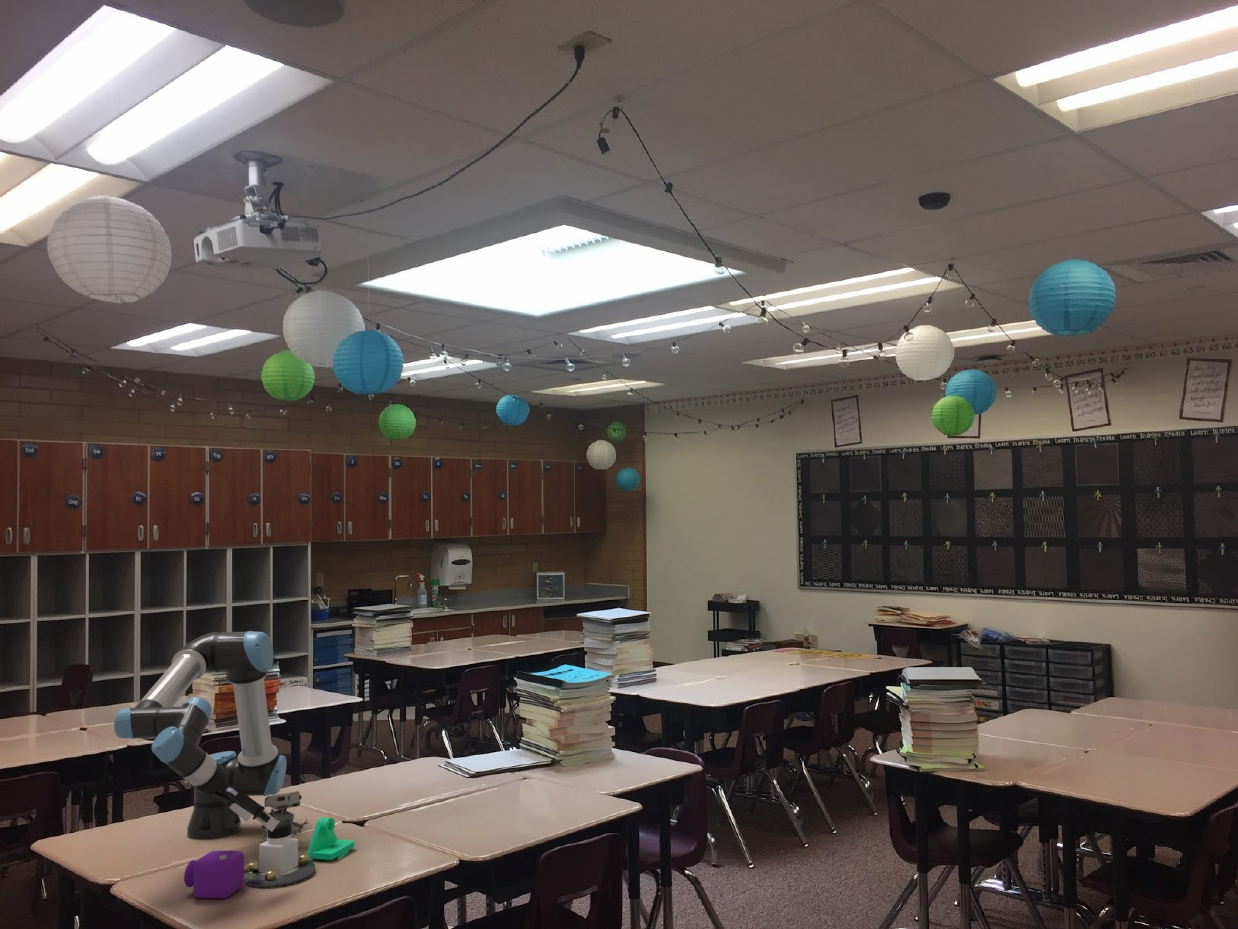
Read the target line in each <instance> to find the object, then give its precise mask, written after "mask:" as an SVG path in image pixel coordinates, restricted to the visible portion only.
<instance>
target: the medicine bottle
mask: <svg viewBox="0 0 1238 929" xmlns="http://www.w3.org/2000/svg"><path fill="white" fill-rule="evenodd" d="M278 822H279V823H278V825H277V826H276V827H275V829H274V830H273V831H270V830H269V829H267V840H268V841H266V840H265V841H264V842H262V843H259V845H258V857H259V858H258V864H259V872H264V873H265V871H267V870H271V869H274V870H276V874H283V873H285V872H287V871H289V870H291V869H293V868H294V867H296V866H298V855H299V839H298V838H293V837H292V834H291V823H290V822H288V821H278ZM291 837H292V838H291Z"/></svg>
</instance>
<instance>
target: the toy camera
mask: <svg viewBox="0 0 1238 929" xmlns="http://www.w3.org/2000/svg"><path fill="white" fill-rule="evenodd" d="M244 871H245V856H244V852H243V851H240V850H212V851H210V852H208V853H206V854H204V855H203V856H202V857H200V858H198V859H197V860H196V859H192V860H190V861H189V863H188V864H187V866H186V867H185V871H184V875H183V881H184V882H183V883H184V885H185V886H186V888H192V887H193V888H192V889H193V891H192V892H193V896H194V898H197V899H209V898H210V899H211V900H212V899H215V900H217V899H220V900H222V899H227V898H229V897H231V896H232V895H233V894H234V893H236V892H237V891H239V890H240V889H241V888H242V887H243V885H244V883H243V882H244Z"/></svg>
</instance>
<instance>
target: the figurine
mask: <svg viewBox="0 0 1238 929" xmlns="http://www.w3.org/2000/svg"><path fill="white" fill-rule="evenodd" d="M301 800H302V795H301V794H300V790H299V791H298V790H296V791H293V792H292V791H291V792H286V793H281V794H280V793H279V794H275V795H267V797H266V796H265V798H264V803H263V804H264V808H272V809H270V812H268V813H269V814H270V815H271V816H272V817H273V818H275V819H276V820H277V821H288V822H290V823H291V835H293V836H295V835H296V834H297V833H300V834H301V833H302V832H303V830H302V829H303V828H304V826H305V825H308V824H309V820H308V819H305V821H304V822H303V823H298V822H297V821H294V818H295V814H294V813H292V812H290V811H287V809H290V808H297V807H300V806H301ZM293 827H294V829H293ZM296 827H297V828H298V829H295V828H296ZM261 828H262V829H264V831H263V836H262V838H264V839H265V842H266V841H268V840H267V828H266V827H265V826H264V825H263V824H262V825H261Z"/></svg>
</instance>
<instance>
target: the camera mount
mask: <svg viewBox="0 0 1238 929" xmlns="http://www.w3.org/2000/svg"><path fill="white" fill-rule="evenodd" d="M335 828H336V821H335V819H334V818H333V817H323V816H321V817H319V818H318V819H317V821H316V823H315V827H314V830H313V833H312V837H311V840H310V843H309V846H308V850H307V854H309V859H317V860H326V861H327V860H329V861H331V860H334V858H340V857H342V856H343V855H345V856H347V855H348V854H347V853H349V852H350V850H352V849H354V848H355V840H351V839H338V838H337V835H336V833H335ZM346 854H347V855H346ZM342 858H343V857H342ZM340 859H341V858H340Z"/></svg>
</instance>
